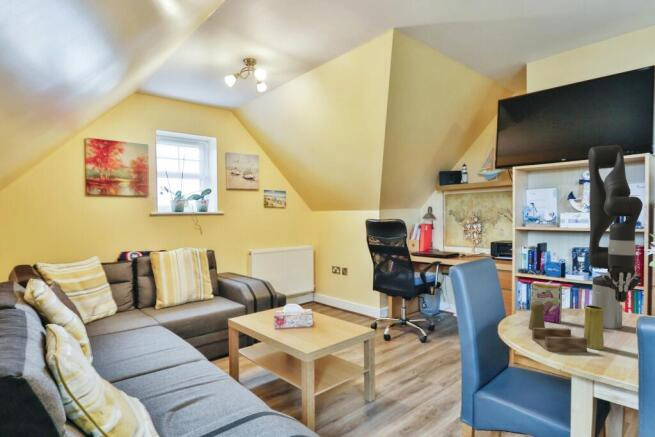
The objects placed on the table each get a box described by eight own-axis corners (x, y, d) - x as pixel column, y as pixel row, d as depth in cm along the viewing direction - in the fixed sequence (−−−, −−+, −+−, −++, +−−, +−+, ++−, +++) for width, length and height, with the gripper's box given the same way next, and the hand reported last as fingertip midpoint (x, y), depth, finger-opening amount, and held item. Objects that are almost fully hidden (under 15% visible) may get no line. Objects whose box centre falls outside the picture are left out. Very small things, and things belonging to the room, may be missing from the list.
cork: (544, 328, 150) (544, 301, 150) (546, 332, 145) (546, 305, 144) (527, 326, 153) (528, 300, 152) (529, 330, 147) (529, 303, 147)
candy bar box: (530, 319, 162) (531, 282, 162) (533, 316, 166) (533, 281, 166) (559, 324, 155) (560, 286, 155) (561, 321, 159) (562, 284, 159)
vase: (607, 350, 126) (608, 309, 126) (588, 349, 127) (588, 308, 127) (598, 344, 132) (599, 305, 132) (579, 342, 133) (580, 304, 133)
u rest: (568, 340, 136) (568, 328, 136) (586, 352, 125) (587, 339, 125) (532, 339, 137) (532, 327, 137) (547, 350, 126) (547, 338, 126)
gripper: (633, 252, 131) (632, 299, 132) (595, 251, 133) (594, 298, 133) (650, 254, 124) (649, 305, 124) (609, 253, 125) (608, 303, 125)
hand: (620, 301), depth 129 cm, fingers closed
